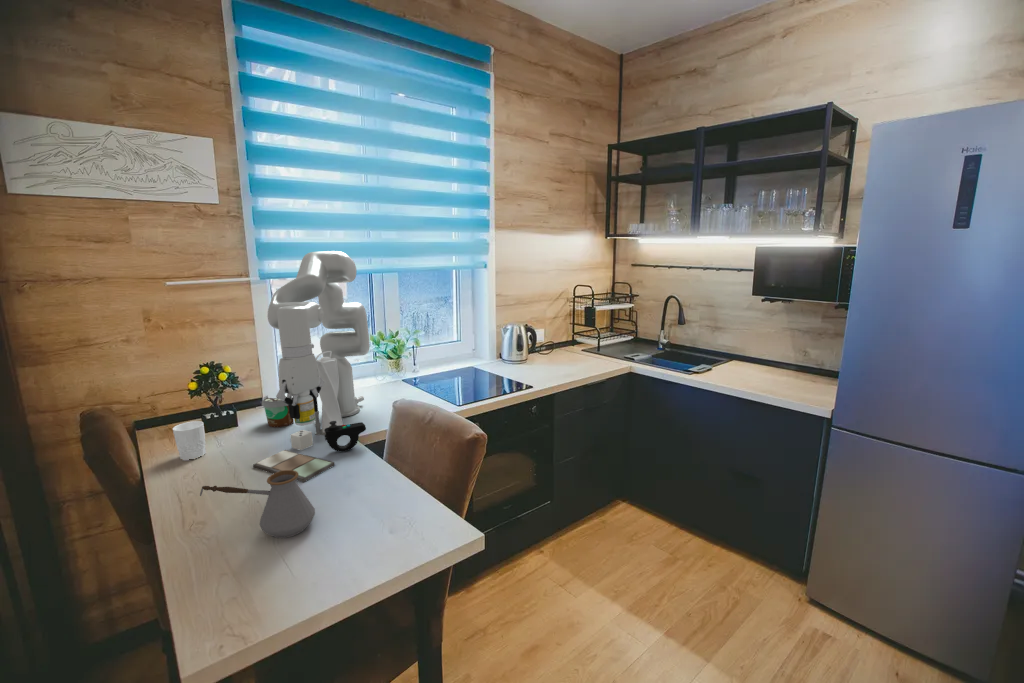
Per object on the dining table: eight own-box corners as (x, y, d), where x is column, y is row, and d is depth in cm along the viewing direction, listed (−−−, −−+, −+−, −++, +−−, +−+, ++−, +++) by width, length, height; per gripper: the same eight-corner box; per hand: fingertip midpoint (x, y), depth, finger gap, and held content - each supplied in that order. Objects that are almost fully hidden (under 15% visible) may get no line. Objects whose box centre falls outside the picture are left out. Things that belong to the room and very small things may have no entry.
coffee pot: (312, 508, 116) (305, 452, 113) (320, 532, 106) (313, 471, 103) (209, 537, 105) (199, 475, 102) (208, 567, 95) (197, 499, 92)
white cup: (214, 450, 150) (209, 421, 148) (195, 462, 143) (190, 431, 140) (191, 450, 151) (186, 420, 149) (171, 461, 143) (166, 430, 141)
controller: (325, 451, 148) (322, 421, 146) (366, 443, 153) (363, 414, 151) (327, 456, 144) (324, 426, 142) (368, 448, 150) (366, 418, 148)
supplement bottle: (317, 423, 131) (313, 390, 129) (296, 427, 128) (292, 393, 127) (313, 417, 136) (310, 385, 134) (293, 421, 133) (289, 388, 131)
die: (303, 442, 155) (301, 429, 154) (313, 444, 153) (311, 431, 152) (291, 447, 151) (290, 434, 150) (301, 450, 149) (300, 436, 148)
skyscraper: (325, 426, 170) (317, 350, 164) (347, 426, 169) (340, 350, 163) (315, 435, 161) (306, 356, 156) (338, 435, 161) (330, 356, 155)
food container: (256, 427, 169) (252, 400, 167) (269, 420, 175) (266, 395, 173) (284, 430, 166) (281, 403, 164) (297, 423, 171) (293, 397, 169)
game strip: (285, 452, 148) (285, 449, 147) (334, 465, 138) (334, 461, 138) (253, 467, 138) (252, 463, 138) (303, 482, 129) (303, 478, 129)
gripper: (312, 344, 137) (319, 403, 141) (259, 357, 122) (268, 423, 126) (331, 346, 134) (337, 406, 137) (278, 359, 119) (287, 427, 122)
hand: (304, 413), depth 132 cm, fingers closed on supplement bottle, 5 cm apart
